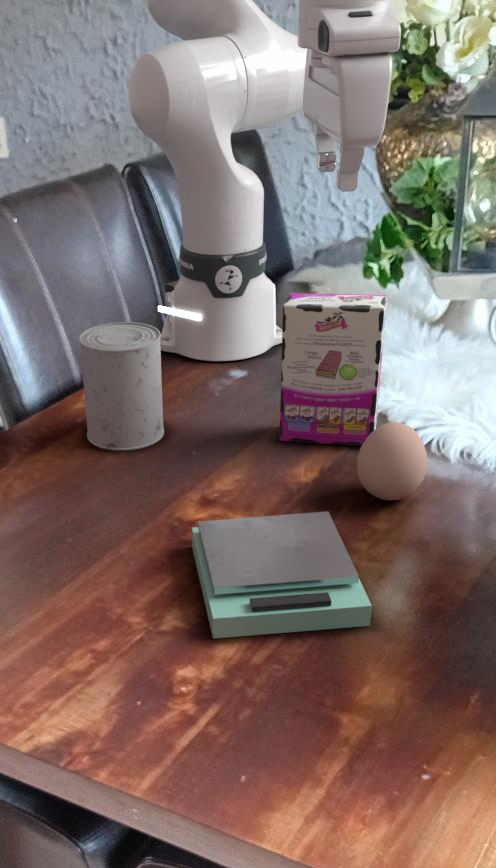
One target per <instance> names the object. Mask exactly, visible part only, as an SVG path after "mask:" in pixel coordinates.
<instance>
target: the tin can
mask: <svg viewBox="0 0 496 868" xmlns="http://www.w3.org/2000/svg"><path fill="white" fill-rule="evenodd" d="M160 337H161V331H160V330H159V329H158V328H157V327H155V326H154V325H150V324H147V323H144V322H143V323H142V322H135V321H115V322H108V323H107V322H106V323H103V324H98V325H95V326H92V327H90V328H87V329H85V330H83V332H81V333H80V334H79V337H78V342H79V346H80V347H79V348H80V357H81V358H80V359H81V369H82V370H81V371H82V381H83V382H82V383H83V392H84V393H83V394H84V405H85V417H86V418H85V419H86V429H87V432H86V437H87V440H88V441H89V443H90V444H92V445H93V446H95V447H97V448H99V449H103V450H107V451H109V450H110V451H119V452H120V451H123V452H125V451H135V450H141V449H144V448H148V447H150V446H152V445H155V444H156V443H157V442H159V441H160V440H161V439H162V438H163V437H164V434H165V428H164V411H163V410H164V409H163V408H164V407H163V383H162V382H163V380H162V355H161V354H162V353H161V350H160Z"/></svg>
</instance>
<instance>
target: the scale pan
mask: <svg viewBox="0 0 496 868" xmlns="http://www.w3.org/2000/svg"><path fill="white" fill-rule="evenodd" d="M197 527H198V531H199V535H200V539H201V543H202V548H203V552H204V556H205V560H206V564H207V568H208V572H209V576H210V581H211V585H212V589H213V593H214V595H219V594H232V593H244V592H256V591H269V590H281V589H293V588H306V587H318V586H331V585H343V584H355V583H358V578H359V577H360V576H359V573H358V571H357V568H356V567H355V565H354V563H353V561H352V558H351V557H350V554H349V552H348V551H347V550H348V549H347V548H346V546H345V544H344V542H343V539H342V537H341V536H340V533H339V530H338V528H337V527H336V525H335V522H334V520H333V518H332V516H331V513H330V511H328V510H327V511H314V512H302V513H291V514H290V513H289V514H276V515H263V516H249V517H240V518H239V517H238V518H226V519H213V520H200V521H197ZM359 579H360V578H359Z"/></svg>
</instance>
